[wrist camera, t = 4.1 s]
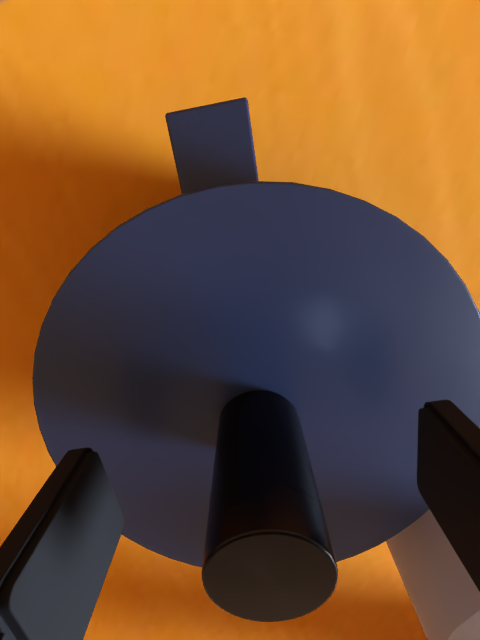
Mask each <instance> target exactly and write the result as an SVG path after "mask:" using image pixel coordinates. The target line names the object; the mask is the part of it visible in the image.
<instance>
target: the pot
mask: <svg viewBox="0 0 480 640" xmlns="http://www.w3.org/2000/svg"><path fill="white" fill-rule="evenodd" d="M165 117H166V122H167V127H168V131H169V136H170V141H171V145H172V150H173V155H174V159H175V164H176V169H177V173H178V178H179V183H180V187H181V192H182V194H185V193H189V192H193V191H197V190H201V189H205V188H208V187H212V186H216V185H225V184H234V183H243V182H252V181H259V180H258V173H257V166H256V158H255V151H254V144H253V137H252V129H251V122H250V115H249V107H248V100H247V98H239V99H234V100H229V101H224V102H219V103H215V104H210V105H205V106H200V107H195V108H190V109H185V110H180V111H175V112H170V113H167V114H166V116H165Z"/></svg>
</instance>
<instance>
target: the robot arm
mask: <svg viewBox="0 0 480 640" xmlns="http://www.w3.org/2000/svg"><path fill="white" fill-rule="evenodd" d="M417 486H418V489H419V492H420V494H421V496H422V498H423V499H424V501H425V503H426V504H427V506H428V507H429V509H430V511H431V512H432V514H433V516H434V517H435V519H436V521H437V522H438V524H439V526H440V527H441V529H442V531H443V532H444V534H445V536H446V537H447V539H448V541H449V542H450V544H451V546H452V547H453V549H454V551H455V552H456V554H457V555H458V557H459V559H460V560H461V562H462V564H463V565H464V567H465V569H466V570H467V572H468V574H469V575H470V577H471V579H472V580H473V582H474V584H475V585H476V587H477V589H478V590H479V592H480V428H479V427H478V426H477V425H476V424H475V423H473V422H472V421H471V420H470V419H469V418H468V417H467V416H466V415H465V414H464V413H463V412H462V411H461V410H460V409H459V408H458V407H457V406H456V405H455V404H454V403H453V402H451V401H450V400H447V399H445V400H438V401H431V402H426V403H425V404H424V408H420V409H419V411H418V446H417ZM123 526H124V517H123V514H122V511H121V509H120V506H119V504H118V501H117V499H116V496H115V494H114V491H113V489H112V486H111V484H110V481H109V479H108V476H107V474H106V471H105V469H104V466H103V464H102V461H101V459H100V456H99V454H98V453H97V452H94V451H93V450H92V449H91V448H89V447H87V448H80V449H72V450H69V451H68V452H67V453H66V454H65V455H64V457H63V458H62V460H61V461H60V462H59V464H58V465H57V467H56V468H55V470H54V471H53V472H52V474H51V475H50V477H49V478H48V480H47V481H46V482H45V484H44V485H43V487H42V488H41V490H40V491H39V492H38V494H37V495H36V497H35V498H34V500H33V501H32V502H31V504H30V505H29V507H28V508H27V510H26V511H25V513H24V514H23V515H22V517H21V518H20V520H19V521H18V523H17V524H16V525H15V527H14V528H13V530H12V531H11V533H10V534H9V535H8V537H7V538H6V540H5V541H4V543H3V544H2V545H1V547H0V640H83V638H84V635H85V632H86V630H87V627H88V624H89V621H90V619H91V616H92V613H93V610H94V608H95V605H96V602H97V599H98V597H99V594H100V591H101V588H102V586H103V583H104V580H105V577H106V575H107V572H108V569H109V566H110V564H111V561H112V558H113V555H114V553H115V550H116V547H117V544H118V542H119V539H120V536H121V533H122V531H123Z"/></svg>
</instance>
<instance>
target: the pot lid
mask: <svg viewBox="0 0 480 640" xmlns="http://www.w3.org/2000/svg"><path fill="white" fill-rule="evenodd" d="M32 379H33V394H34V406H35V410H36V415H37V419H38V424H39V428H40V431H41V434H42V436H43V439H44V442H45V444H46V447H47V450H48V452H49V454H50V456H51V458H52V459H53V461H54V463H55V465H56V467H57V465H58V464H59V462H60V461H61V460H62V458H63V457H64V455H65V454H66V453H67V452H68V451H69V450H72V449H80V448H87V447H89V448H91V449H92V450H93V451H94V452H97V453H98V454H99V456H100V459H101V461H102V464H103V466H104V469H105V471H106V474H107V476H108V479H109V481H110V484H111V486H112V489H113V491H114V494H115V496H116V499H117V501H118V504H119V506H120V509H121V511H122V514H123V517H124V526H123V531H122V533H121V534H122V535H124V536H125V537H127V538H128V539H130V540H132V541H134V542H136V543H138V544H139V545H141V546H143V547H145V548H147V549H149V550H151V551H154V552H156V553H158V554H161V555H163V556H166V557H168V558H171V559H174V560H177V561H180V562H184V563H187V564H190V565H194V566H198V567H202V581H203V586H204V588H205V591H206V593H207V594H208V596H209V597H210V599H211V600H212V601H213V602H214V603H215V604H216V605H217V606H219V607H220V608H221V609H223V610H224V611H226V612H228V613H230V614H232V615H235V616H237V617H240V618H244V619H248V620H253V621H261V622H278V621H286V620H290V619H295V618H298V617H301V616H304V615H306V614H308V613H310V612H312V611H314V610H316V609H317V608H319V607H320V606H321V605H323V604H324V603H325V602H326V601H327V600H328V599H329V597H330V596H331V595H332V593H333V591H334V589H335V587H336V583H337V578H338V569H337V564H336V562H338V561H341V560H344V559H347V558H350V557H353V556H355V555H358V554H360V553H362V552H364V551H367V550H369V549H371V548H373V547H376V546H378V545H379V544H381V543H383V542H385V541H386V540H388V539H390V538H392V537H393V536H395V535H397V534H398V533H400V532H401V531H403V530H404V529H405V528H407V527H408V526H410V525H411V524H412V523H414V522H415V521H417V520H418V519H419V518H420V517H421V516H422V515H423V514H425V513H426V512H427V511H428V510H429V507H428V506H427V504H426V503H425V501H424V499H423V498H422V496H421V494H420V492H419V489H418V486H417V446H418V411H419V409H420V408H424V404H425V403H426V402H431V401H438V400H445V399H447V400H450V401H451V402H453V403H454V404H455V405H456V406H457V407H458V408H459V409H460V410H461V411H462V412H463V413H464V414H465V415H466V416H467V417H468V418H469V419H470V420H471V421H472V422H473V423H475V424H476V425H477V426H478V427H479V428H480V313H479V311H478V309H477V307H476V305H475V303H474V301H473V299H472V297H471V295H470V293H469V291H468V289H467V287H466V285H465V283H464V282H463V281H462V279H461V278H460V277H459V275H458V274H457V273H456V271H455V270H454V268H453V267H452V266H451V264H450V263H449V262H448V260H447V259H446V258H445V257H444V256H443V255H442V254H441V253H440V252H439V251H438V250H437V249H436V248H435V247H434V246H433V245H432V244H431V243H430V242H429V241H428V240H427V239H426V238H425V237H424V236H422V235H421V234H420V233H418V232H417V231H415V230H414V229H413V228H411V227H410V226H408V225H407V224H406V223H404V222H403V221H401V220H400V219H399V218H397V217H396V216H394V215H392V214H390V213H388V212H386V211H384V210H382V209H380V208H378V207H376V206H374V205H372V204H370V203H368V202H366V201H364V200H361V199H358V198H355V197H352V196H349V195H346V194H343V193H340V192H337V191H334V190H331V189H327V188H321V187H315V186H310V185H304V184H298V183H293V182H263V181H252V182H243V183H234V184H225V185H216V186H212V187H208V188H205V189H201V190H197V191H193V192H189V193H185V194H181V195H179V196H176V197H174V198H171V199H169V200H167V201H164V202H162V203H160V204H157V205H155V206H152V207H150V208H148V209H146V210H144V211H142V212H141V213H139V214H137V215H136V216H134V217H132V218H131V219H129V220H127V221H126V222H124V223H123V224H121V225H119V226H118V227H116V228H115V229H114V230H113V231H111V232H110V233H109V234H108V235H107V236H105V237H104V238H103V239H102V240H100V241H99V242H98V243H97V244H96V245H94V246H93V247H92V248H91V249H90V250H89V251H88V252H87V253H86V255H85V256H84V257H83V258H82V259H81V260H80V261H79V262H78V264H77V265H76V266H75V267H74V268H73V269H72V270H71V272H70V273H69V274H68V276H67V277H66V279H65V281H64V282H63V284H62V285H61V287H60V288H59V290H58V292H57V293H56V295H55V296H54V298H53V300H52V302H51V305H50V307H49V309H48V312H47V314H46V316H45V319H44V321H43V323H42V326H41V330H40V334H39V338H38V342H37V346H36V350H35V356H34V367H33V378H32Z"/></svg>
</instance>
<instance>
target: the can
mask: <svg viewBox="0 0 480 640" xmlns="http://www.w3.org/2000/svg"><path fill="white" fill-rule="evenodd" d="M386 542H387V545H388V547H389V549H390V552H391V554H392V557H393V559H394V561H395V564H396V566H397V569H398V571H399V573H400V576H401V578H402V580H403V583H404V585H405V588H406V590H407V592H408V595H409V597H410V600H411V602H412V604H413V607H414V609H415V612H416V614H417V616H418V619H419V621H420V624H421V626H422V628H423V631H424V633H425V635H426V638H427V640H480V592H479V590H478V589H477V587H476V585H475V584H474V582H473V580H472V579H471V577H470V575H469V574H468V572H467V570H466V569H465V567H464V565H463V564H462V562H461V560H460V559H459V557H458V555H457V554H456V552H455V551H454V549H453V547H452V546H451V544H450V542H449V541H448V539H447V537H446V536H445V534H444V532H443V531H442V529H441V527H440V526H439V524H438V522H437V521H436V519H435V517H434V516H433V514H432V512H431V511H430V509H429V510H428V511H427V512H426V513H425V514H423V515H422V516H421V517H420V518H419V519H418V520H417V521H415V522H414V523H412V524H411V525H410V526H408V527H407V528H405V529H404V530H403V531H401V532H400V533H398V534H397V535H395V536H393V537H392V538H390V539H388V540H386Z"/></svg>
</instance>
